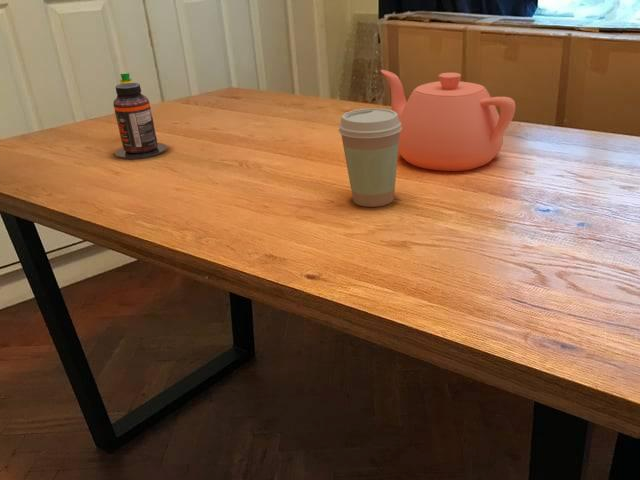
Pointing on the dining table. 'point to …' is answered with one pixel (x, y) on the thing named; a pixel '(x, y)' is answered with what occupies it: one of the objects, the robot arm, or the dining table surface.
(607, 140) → the dining table surface
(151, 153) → the coaster
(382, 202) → the coffee cup
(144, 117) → the supplement bottle
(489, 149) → the teapot
